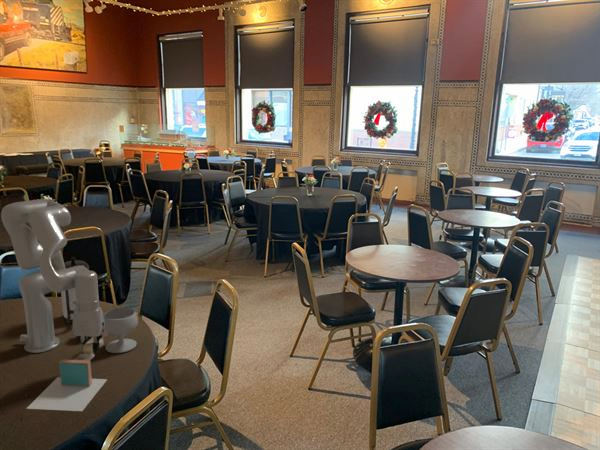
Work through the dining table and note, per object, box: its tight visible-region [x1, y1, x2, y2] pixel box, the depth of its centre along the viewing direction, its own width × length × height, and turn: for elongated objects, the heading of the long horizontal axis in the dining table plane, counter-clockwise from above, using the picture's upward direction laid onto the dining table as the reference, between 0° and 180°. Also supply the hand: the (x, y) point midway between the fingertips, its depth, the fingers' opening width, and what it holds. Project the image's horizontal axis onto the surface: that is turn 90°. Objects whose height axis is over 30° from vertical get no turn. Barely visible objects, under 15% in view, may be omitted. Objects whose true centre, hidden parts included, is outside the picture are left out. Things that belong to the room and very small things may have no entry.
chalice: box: [103, 307, 139, 354], centre depth 183 cm, size 14×14×15 cm
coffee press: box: [60, 256, 90, 325], centre depth 205 cm, size 17×16×30 cm
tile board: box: [25, 376, 108, 412], centre depth 150 cm, size 18×18×2 cm
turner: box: [73, 337, 104, 362], centre depth 163 cm, size 17×5×4 cm, turn 179°
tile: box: [58, 358, 93, 387], centre depth 154 cm, size 10×2×9 cm, turn 89°
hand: (91, 350), depth 165 cm, fingers closed on turner, 2 cm apart
